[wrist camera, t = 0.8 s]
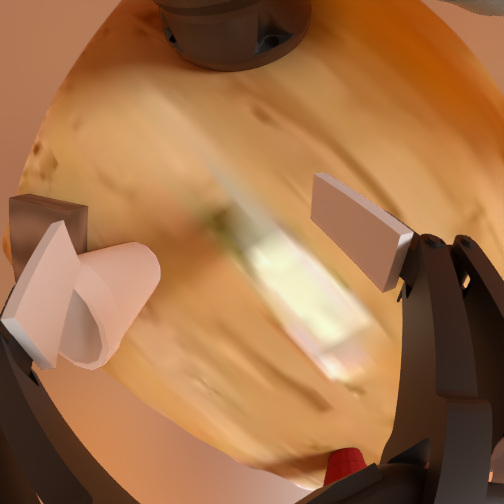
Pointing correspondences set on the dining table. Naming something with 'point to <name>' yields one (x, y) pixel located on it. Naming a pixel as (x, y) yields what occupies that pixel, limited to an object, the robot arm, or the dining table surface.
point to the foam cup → (107, 301)
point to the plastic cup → (343, 464)
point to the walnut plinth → (42, 225)
